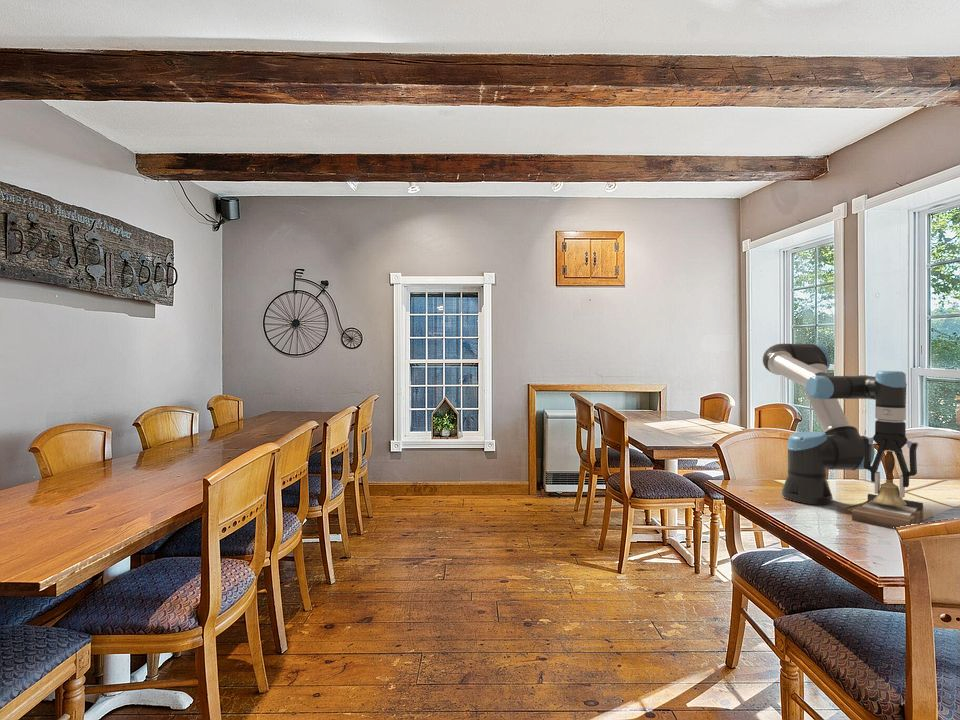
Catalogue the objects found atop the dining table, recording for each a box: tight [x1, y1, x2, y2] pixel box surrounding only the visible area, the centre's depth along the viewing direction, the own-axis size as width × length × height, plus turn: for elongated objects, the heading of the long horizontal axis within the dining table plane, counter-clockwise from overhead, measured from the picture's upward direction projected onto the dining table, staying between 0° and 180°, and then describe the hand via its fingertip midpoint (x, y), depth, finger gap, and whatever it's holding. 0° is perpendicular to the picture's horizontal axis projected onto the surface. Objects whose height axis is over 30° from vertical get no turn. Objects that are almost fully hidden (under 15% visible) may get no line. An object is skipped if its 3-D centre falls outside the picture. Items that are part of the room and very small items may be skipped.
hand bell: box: [873, 450, 907, 506], centre depth 166 cm, size 8×8×16 cm
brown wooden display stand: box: [851, 493, 924, 529], centre depth 165 cm, size 18×14×5 cm
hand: (889, 494), depth 166 cm, fingers closed on hand bell, 5 cm apart
